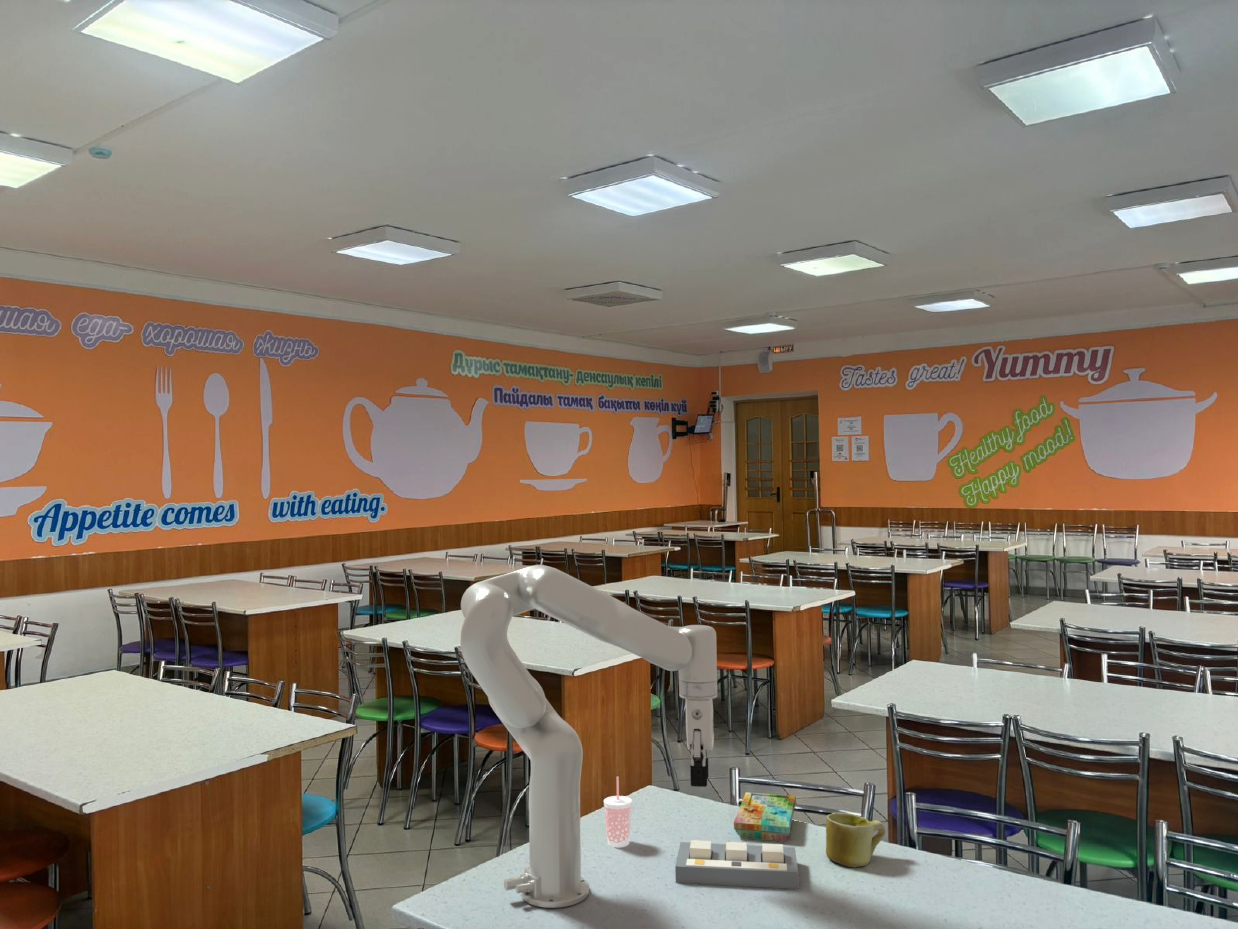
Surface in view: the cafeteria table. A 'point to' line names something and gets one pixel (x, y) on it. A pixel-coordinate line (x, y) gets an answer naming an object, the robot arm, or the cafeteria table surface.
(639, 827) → the cafeteria table surface
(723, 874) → the button board
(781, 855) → the button right
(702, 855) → the button left
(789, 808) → the puzzle game
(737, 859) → the button middle
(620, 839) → the beverage cup
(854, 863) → the mug
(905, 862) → the cafeteria table surface
